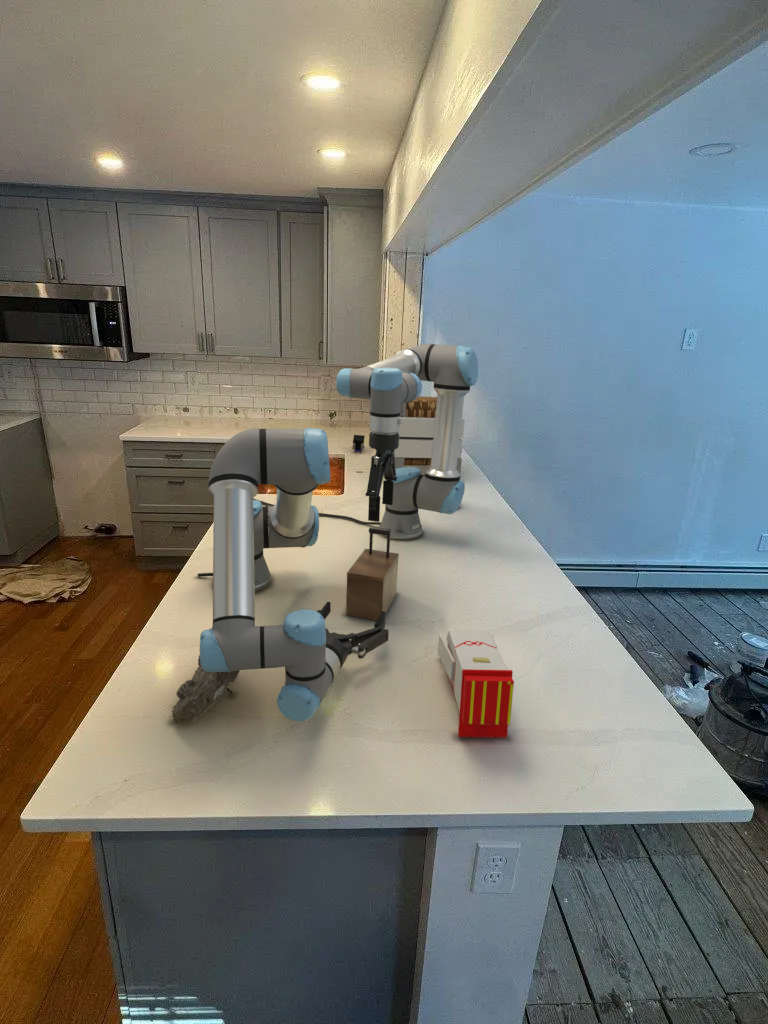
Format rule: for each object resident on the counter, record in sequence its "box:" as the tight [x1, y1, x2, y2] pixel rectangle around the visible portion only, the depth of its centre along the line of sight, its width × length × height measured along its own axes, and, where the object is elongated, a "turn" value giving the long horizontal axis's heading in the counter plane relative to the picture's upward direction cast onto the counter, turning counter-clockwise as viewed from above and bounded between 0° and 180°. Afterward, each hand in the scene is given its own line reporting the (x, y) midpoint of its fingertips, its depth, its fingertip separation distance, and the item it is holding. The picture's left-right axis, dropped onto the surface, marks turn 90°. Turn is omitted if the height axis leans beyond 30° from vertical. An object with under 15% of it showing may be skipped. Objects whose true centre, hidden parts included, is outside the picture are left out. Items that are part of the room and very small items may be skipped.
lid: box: [346, 525, 400, 583], centre depth 147 cm, size 16×10×9 cm, turn 165°
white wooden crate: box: [394, 396, 465, 475], centre depth 268 cm, size 34×33×41 cm
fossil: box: [171, 654, 241, 724], centre depth 113 cm, size 22×10×15 cm
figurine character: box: [351, 434, 365, 454], centre depth 311 cm, size 7×8×15 cm
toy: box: [437, 628, 515, 738], centre depth 117 cm, size 12×13×30 cm
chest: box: [345, 558, 399, 621], centre depth 150 cm, size 16×10×11 cm, turn 165°
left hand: (355, 611), depth 135 cm, fingers open, 13 cm apart
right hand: (380, 512), depth 148 cm, fingers open, 13 cm apart
